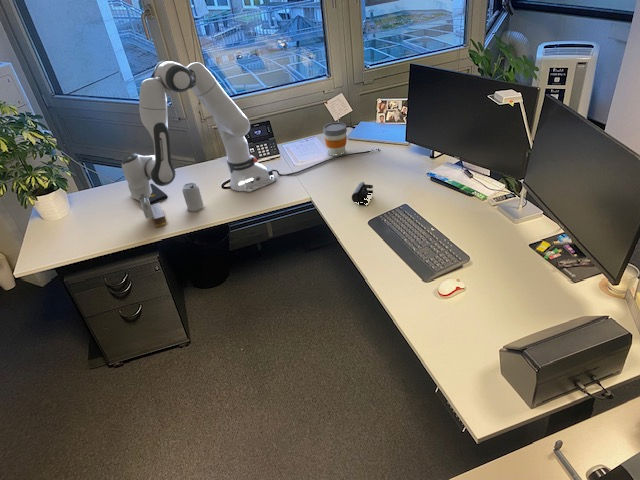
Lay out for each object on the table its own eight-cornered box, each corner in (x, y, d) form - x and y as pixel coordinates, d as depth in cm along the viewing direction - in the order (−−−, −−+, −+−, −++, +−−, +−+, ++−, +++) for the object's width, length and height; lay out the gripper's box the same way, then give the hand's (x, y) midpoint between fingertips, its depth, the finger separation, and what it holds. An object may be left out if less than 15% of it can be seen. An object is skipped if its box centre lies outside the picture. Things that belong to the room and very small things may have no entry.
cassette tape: (131, 195, 235) (130, 191, 234) (153, 186, 241) (151, 182, 239) (145, 207, 223) (144, 203, 222) (167, 198, 229) (166, 194, 228)
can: (200, 212, 215) (193, 189, 208) (185, 211, 216) (178, 189, 209) (206, 203, 221) (200, 181, 214) (192, 203, 222) (185, 181, 215)
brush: (162, 210, 219) (159, 202, 217) (167, 224, 209) (164, 216, 206) (151, 213, 218) (148, 205, 215) (156, 227, 207) (153, 219, 205)
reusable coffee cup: (337, 145, 261) (335, 120, 252) (352, 151, 253) (351, 125, 244) (320, 153, 255) (318, 127, 246) (335, 159, 247) (333, 133, 238)
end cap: (358, 194, 215) (357, 181, 211) (373, 195, 213) (372, 182, 209) (351, 205, 208) (351, 191, 204) (367, 206, 205) (366, 193, 201)
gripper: (151, 198, 196) (161, 225, 204) (145, 179, 212) (153, 205, 220) (136, 202, 194) (146, 230, 202) (131, 183, 210) (140, 209, 218)
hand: (150, 217), depth 211 cm, fingers closed, pressing on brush
